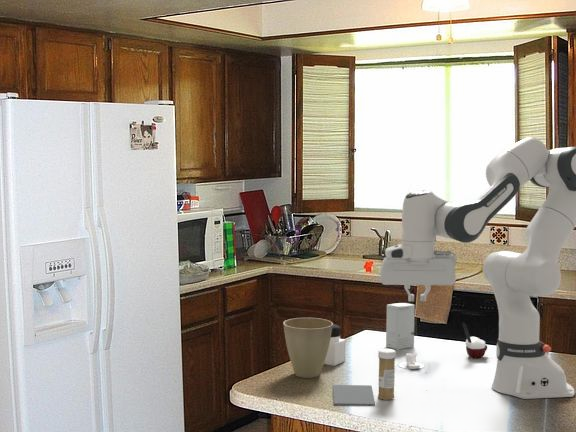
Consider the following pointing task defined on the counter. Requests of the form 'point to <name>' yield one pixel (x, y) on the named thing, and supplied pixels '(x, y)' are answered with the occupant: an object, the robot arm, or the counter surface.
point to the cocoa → (474, 345)
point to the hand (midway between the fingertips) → (417, 301)
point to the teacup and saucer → (411, 362)
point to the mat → (353, 395)
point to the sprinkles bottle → (386, 374)
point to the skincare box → (400, 325)
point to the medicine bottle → (335, 348)
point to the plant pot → (307, 344)
